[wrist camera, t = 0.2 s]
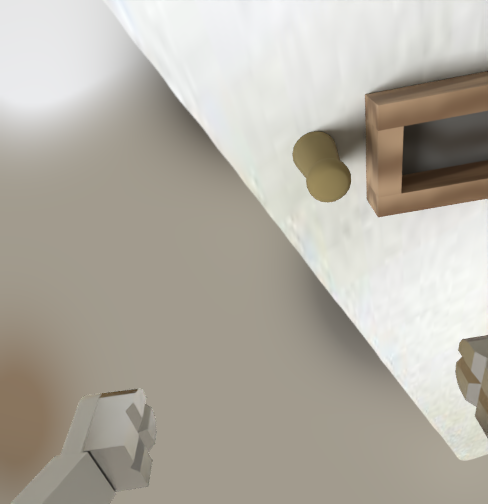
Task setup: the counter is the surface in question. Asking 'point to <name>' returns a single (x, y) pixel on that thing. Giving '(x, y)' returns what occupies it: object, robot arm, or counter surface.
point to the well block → (427, 145)
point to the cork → (321, 166)
